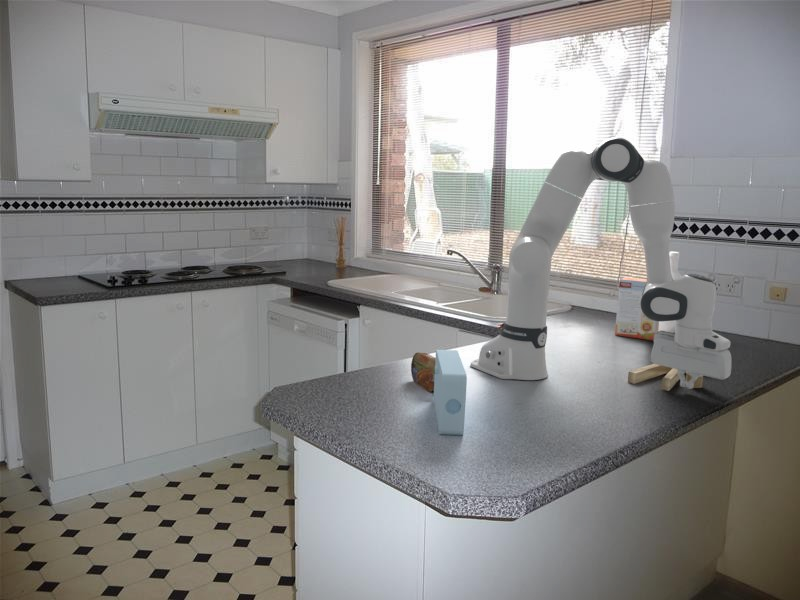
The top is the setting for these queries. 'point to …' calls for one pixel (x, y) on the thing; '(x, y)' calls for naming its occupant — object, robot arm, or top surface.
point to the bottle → (674, 260)
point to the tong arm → (670, 380)
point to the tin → (423, 370)
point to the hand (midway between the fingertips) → (686, 387)
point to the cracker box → (633, 311)
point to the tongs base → (647, 373)
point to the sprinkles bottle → (698, 382)
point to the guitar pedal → (449, 392)
